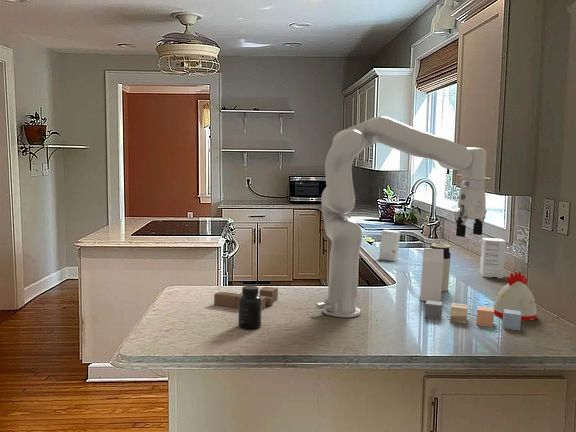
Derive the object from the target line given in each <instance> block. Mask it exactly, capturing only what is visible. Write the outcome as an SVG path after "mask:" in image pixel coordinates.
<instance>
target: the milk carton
mask: <svg viewBox="0 0 576 432" xmlns="http://www.w3.org/2000/svg"><path fill="white" fill-rule="evenodd" d="M443 252H444V250H443V249H432V248H429V247H427V248H426V247H425V248H423V251H422V253H423V254H422V263H421V264H422V265H421V280H420V291H419V292H420V301H424V302H427V300H430V301H438V302H442V301H441V300H442V292H441V290H442V276H443Z"/></svg>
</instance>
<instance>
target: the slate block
mask: <svg viewBox="0 0 576 432" xmlns="http://www.w3.org/2000/svg"><path fill="white" fill-rule="evenodd" d="M521 322H522V321H521V311H516V310H507V309H504V312H503V318H502V329H505V330H506V329H507V330H514V331H521V324H522V323H521Z"/></svg>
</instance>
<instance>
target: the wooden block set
mask: <svg viewBox="0 0 576 432" xmlns="http://www.w3.org/2000/svg"><path fill="white" fill-rule="evenodd" d="M278 291H279V287H272V286H263V287H262V288H260V289H259V296H260V297H261V299H262V309H261V312H263V311H265V309H266V307H273V304H274V303H275V302H277V301H278V294H279V293H278ZM242 295H243V294H242V292H241V293H240V292H239V293H236V292H235V293H234V292H228V291H222V292H216V293H215V294H213V301H214V302H213V305H214V306H218V307H226V308H231V309H232V308H233V309H236V310H237V309H238V310H239V298H240V297H241V296H242Z"/></svg>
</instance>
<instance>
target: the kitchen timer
mask: <svg viewBox="0 0 576 432" xmlns="http://www.w3.org/2000/svg"><path fill="white" fill-rule="evenodd" d="M506 280H507V284H505V285H504V286H503V287H502V288H501V290H499V291H498V292H497V294H496V298H495V300H494V303H493V307H492V308H494V316H497V317H499V318H502V319H503V312H504V309H507V310H516V311H521V320H524V321H523V322H526V321H525V320H532V319H535V318H536V319H537V317H536V316H538V315H537V314H538V311H537V304H536V299H535V297H534V295H533V293H532V291H531V290H530V288H529V287H528V286H527V285H526V283H527V282H528V278H526V277H525V274H522V273H521V272H520V271H518V272H516V271H515V272H514V273H513V272H510V275H509V276H506ZM536 319H535V320H536ZM532 321H533V320H532Z"/></svg>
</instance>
